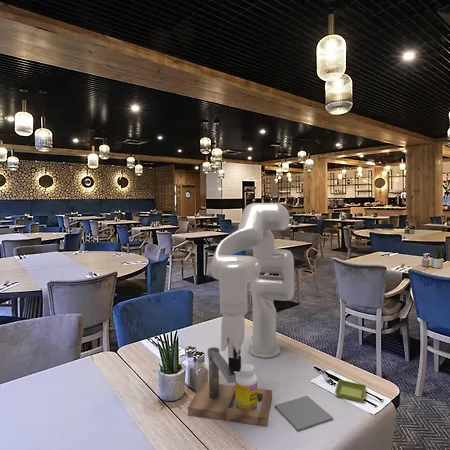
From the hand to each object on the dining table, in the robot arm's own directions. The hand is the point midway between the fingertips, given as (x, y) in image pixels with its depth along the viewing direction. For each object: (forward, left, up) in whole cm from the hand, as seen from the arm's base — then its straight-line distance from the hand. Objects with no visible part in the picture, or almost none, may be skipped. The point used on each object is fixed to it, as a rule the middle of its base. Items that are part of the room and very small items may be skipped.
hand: (234, 369), depth 96 cm
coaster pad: (+5, +20, -15) cm, 25 cm away
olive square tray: (+3, +40, -16) cm, 43 cm away
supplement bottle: (-4, +6, -16) cm, 17 cm away
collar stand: (-7, +2, -15) cm, 17 cm away
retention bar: (-3, -3, 0) cm, 4 cm away
